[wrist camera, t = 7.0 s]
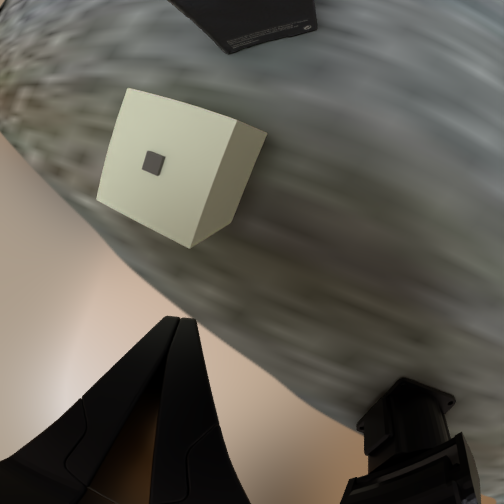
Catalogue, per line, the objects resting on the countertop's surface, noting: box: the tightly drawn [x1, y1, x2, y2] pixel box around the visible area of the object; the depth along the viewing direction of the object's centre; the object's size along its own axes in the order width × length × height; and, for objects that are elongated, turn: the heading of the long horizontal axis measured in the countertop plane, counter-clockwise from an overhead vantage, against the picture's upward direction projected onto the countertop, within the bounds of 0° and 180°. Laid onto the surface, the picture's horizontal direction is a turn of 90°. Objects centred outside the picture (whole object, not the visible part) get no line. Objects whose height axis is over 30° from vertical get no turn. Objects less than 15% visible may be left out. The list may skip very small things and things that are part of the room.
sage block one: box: [96, 88, 267, 249], centre depth 15 cm, size 6×6×6 cm
